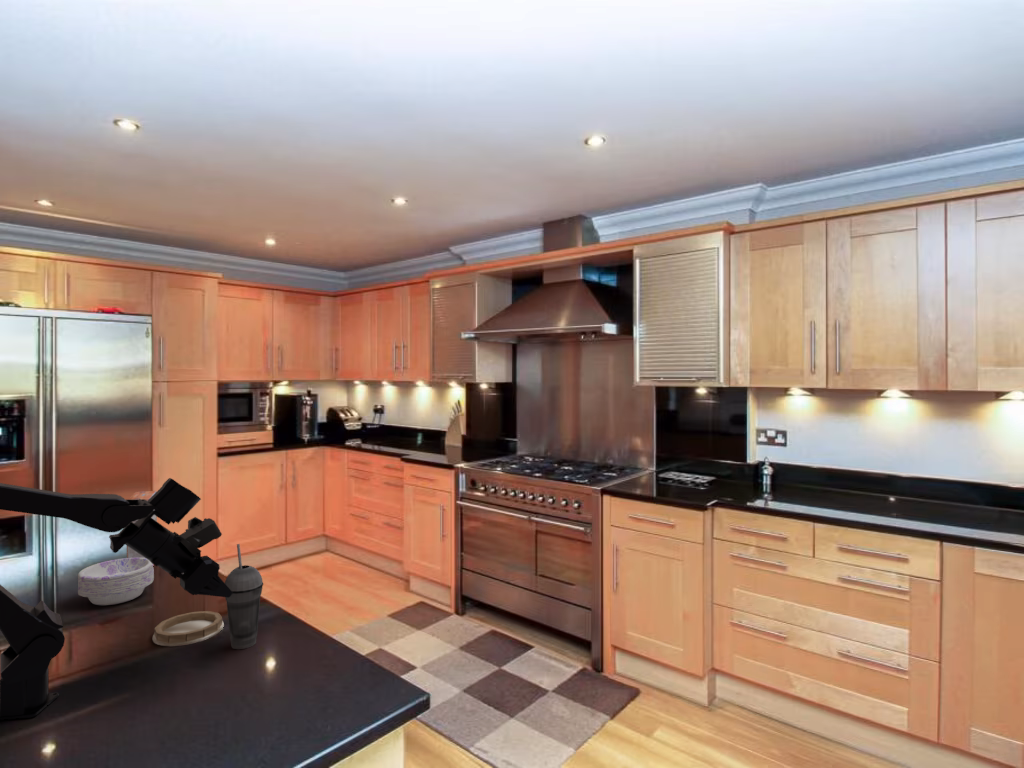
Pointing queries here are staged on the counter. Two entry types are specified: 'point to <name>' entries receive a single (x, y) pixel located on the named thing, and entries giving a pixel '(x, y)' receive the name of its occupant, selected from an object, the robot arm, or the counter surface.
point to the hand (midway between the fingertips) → (223, 588)
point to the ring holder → (188, 628)
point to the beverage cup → (243, 604)
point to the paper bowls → (115, 580)
